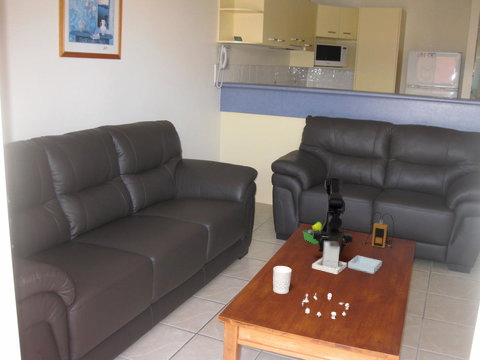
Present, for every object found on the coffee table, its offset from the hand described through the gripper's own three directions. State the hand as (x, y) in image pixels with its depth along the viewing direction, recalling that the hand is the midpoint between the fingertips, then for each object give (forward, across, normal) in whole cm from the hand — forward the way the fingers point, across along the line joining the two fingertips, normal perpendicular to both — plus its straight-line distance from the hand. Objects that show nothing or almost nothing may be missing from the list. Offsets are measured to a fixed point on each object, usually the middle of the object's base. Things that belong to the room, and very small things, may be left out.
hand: (330, 252), depth 260 cm
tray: (+8, +18, +4) cm, 20 cm away
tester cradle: (+8, 0, 0) cm, 8 cm away
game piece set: (+8, -5, -48) cm, 48 cm away
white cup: (+8, -23, -34) cm, 42 cm away
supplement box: (+8, 0, 0) cm, 8 cm away
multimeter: (+8, +31, +44) cm, 54 cm away
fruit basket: (+8, -6, +40) cm, 41 cm away
